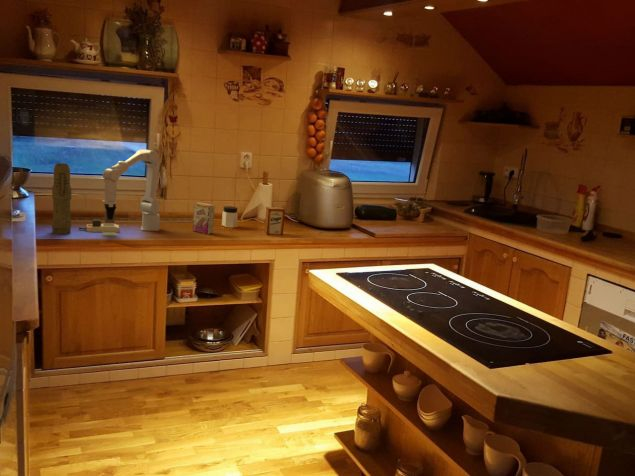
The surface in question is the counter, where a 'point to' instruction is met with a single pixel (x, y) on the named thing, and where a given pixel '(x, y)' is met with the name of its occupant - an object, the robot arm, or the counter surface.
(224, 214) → the jar
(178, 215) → the counter surface
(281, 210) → the baking soda box
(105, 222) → the block
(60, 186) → the carved stone statue
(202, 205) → the candy bar box
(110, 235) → the mat
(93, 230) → the power strip
